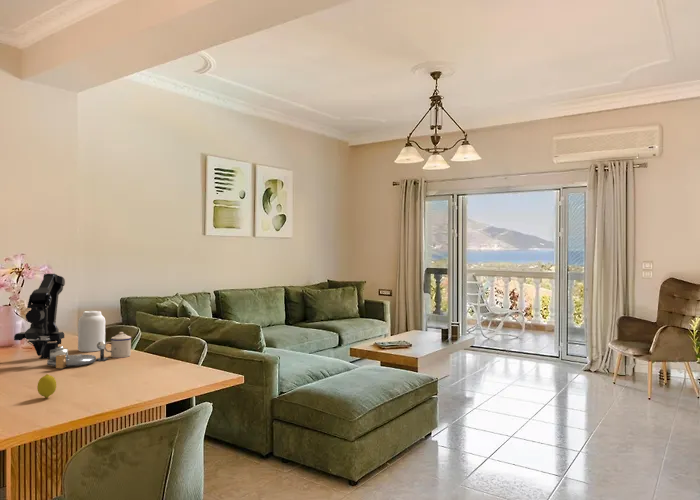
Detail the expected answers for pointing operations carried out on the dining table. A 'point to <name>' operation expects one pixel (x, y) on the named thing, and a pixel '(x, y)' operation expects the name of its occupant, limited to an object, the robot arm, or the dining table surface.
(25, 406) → the dining table surface
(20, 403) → the dining table surface
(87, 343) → the white jar
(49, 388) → the lemon
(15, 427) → the dining table surface
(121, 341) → the teacup with lid
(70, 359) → the platter
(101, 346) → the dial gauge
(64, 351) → the cover
